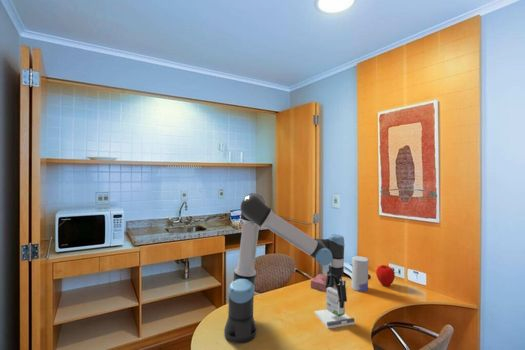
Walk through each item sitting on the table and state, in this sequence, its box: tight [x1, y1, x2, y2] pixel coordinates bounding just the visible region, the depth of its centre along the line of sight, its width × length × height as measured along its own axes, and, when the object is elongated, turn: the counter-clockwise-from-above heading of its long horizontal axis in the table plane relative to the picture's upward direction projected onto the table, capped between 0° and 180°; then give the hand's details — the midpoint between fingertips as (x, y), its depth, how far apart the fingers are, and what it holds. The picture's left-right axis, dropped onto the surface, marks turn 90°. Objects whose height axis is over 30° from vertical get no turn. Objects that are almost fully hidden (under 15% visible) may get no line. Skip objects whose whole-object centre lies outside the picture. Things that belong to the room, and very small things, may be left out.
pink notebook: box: [310, 273, 339, 293], centre depth 175 cm, size 14×15×5 cm
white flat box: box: [314, 309, 355, 330], centre depth 138 cm, size 15×14×3 cm
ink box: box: [325, 287, 346, 317], centre depth 137 cm, size 9×5×12 cm, turn 33°
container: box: [351, 255, 370, 293], centre depth 173 cm, size 10×10×20 cm
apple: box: [375, 264, 396, 288], centre depth 179 cm, size 12×12×13 cm
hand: (335, 308), depth 137 cm, fingers closed on ink box, 9 cm apart
